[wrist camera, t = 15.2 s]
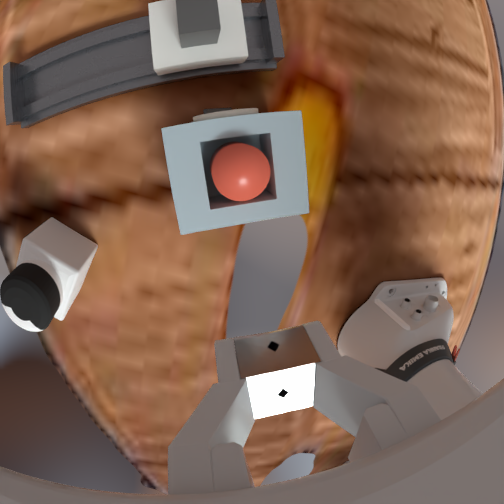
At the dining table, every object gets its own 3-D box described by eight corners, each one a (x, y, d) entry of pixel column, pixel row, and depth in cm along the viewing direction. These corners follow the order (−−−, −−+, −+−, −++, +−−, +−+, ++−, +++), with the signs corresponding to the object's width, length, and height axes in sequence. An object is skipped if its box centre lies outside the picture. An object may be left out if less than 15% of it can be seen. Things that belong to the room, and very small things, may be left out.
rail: (264, 7, 23) (274, -9, 19) (273, 70, 26) (285, 62, 22) (23, 66, 20) (3, 61, 16) (27, 127, 23) (7, 129, 19)
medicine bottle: (51, 215, 28) (-3, 258, 17) (99, 244, 31) (61, 300, 20) (36, 262, 30) (-10, 316, 19) (80, 289, 32) (47, 352, 21)
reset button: (254, 138, 23) (267, 140, 19) (260, 184, 25) (272, 196, 21) (206, 145, 23) (208, 148, 19) (213, 192, 24) (217, 205, 20)
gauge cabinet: (268, 106, 28) (299, 97, 19) (276, 187, 32) (309, 213, 23) (171, 119, 27) (159, 114, 18) (185, 202, 31) (180, 234, 22)
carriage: (235, 3, 20) (246, -28, 14) (243, 63, 23) (257, 43, 17) (152, 14, 20) (141, -15, 13) (158, 75, 23) (146, 59, 16)
